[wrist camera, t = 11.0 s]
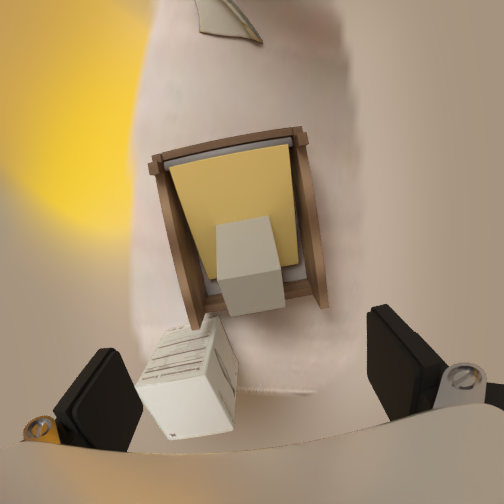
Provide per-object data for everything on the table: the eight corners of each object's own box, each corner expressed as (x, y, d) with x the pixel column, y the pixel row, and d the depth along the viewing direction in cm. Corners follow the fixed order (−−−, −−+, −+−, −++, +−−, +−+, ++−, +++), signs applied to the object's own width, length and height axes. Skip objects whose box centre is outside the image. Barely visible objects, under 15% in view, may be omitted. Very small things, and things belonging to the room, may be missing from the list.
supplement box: (240, 363, 37) (236, 433, 25) (186, 375, 38) (166, 442, 25) (220, 313, 36) (206, 374, 23) (164, 328, 36) (131, 388, 24)
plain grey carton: (216, 225, 29) (217, 280, 24) (268, 215, 29) (280, 269, 24) (227, 262, 32) (230, 316, 27) (274, 253, 32) (285, 307, 27)
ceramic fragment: (264, 43, 29) (266, 28, 25) (227, 65, 30) (224, 51, 26) (200, -21, 27) (196, -37, 23) (166, -1, 28) (159, -17, 24)
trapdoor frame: (171, 159, 32) (145, 153, 24) (290, 136, 31) (304, 121, 23) (202, 303, 35) (189, 337, 27) (314, 283, 35) (332, 313, 27)
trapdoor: (164, 159, 25) (163, 165, 24) (289, 135, 24) (292, 139, 24) (205, 273, 35) (205, 280, 34) (300, 256, 34) (302, 262, 34)
